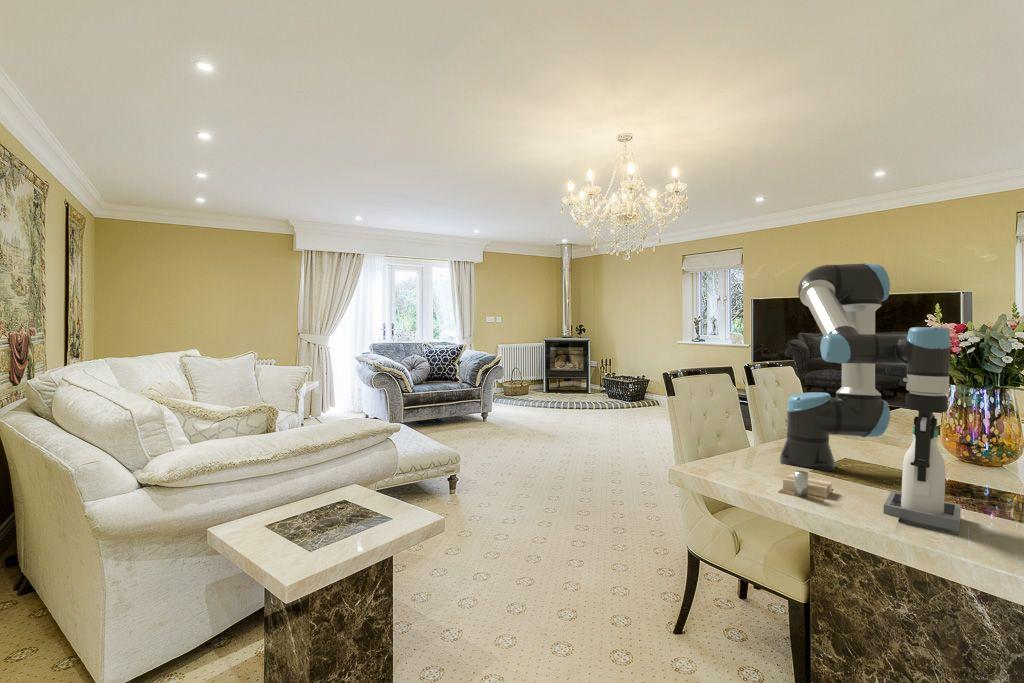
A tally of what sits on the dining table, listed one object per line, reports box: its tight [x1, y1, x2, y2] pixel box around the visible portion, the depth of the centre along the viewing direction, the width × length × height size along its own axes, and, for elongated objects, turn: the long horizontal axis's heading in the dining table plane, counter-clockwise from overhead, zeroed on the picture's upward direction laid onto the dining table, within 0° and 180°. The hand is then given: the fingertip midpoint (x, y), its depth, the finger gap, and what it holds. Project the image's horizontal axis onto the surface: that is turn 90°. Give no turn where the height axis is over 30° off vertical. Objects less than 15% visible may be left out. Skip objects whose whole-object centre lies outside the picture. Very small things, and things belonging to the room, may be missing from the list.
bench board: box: [777, 487, 835, 503], centre depth 129 cm, size 14×10×1 cm
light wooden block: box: [782, 474, 833, 499], centre depth 129 cm, size 6×10×2 cm, turn 46°
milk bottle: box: [900, 426, 946, 516], centre depth 114 cm, size 8×8×20 cm
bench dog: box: [794, 470, 809, 499], centre depth 125 cm, size 3×3×6 cm
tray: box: [882, 491, 962, 536], centre depth 114 cm, size 13×13×3 cm
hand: (922, 490), depth 114 cm, fingers open, 8 cm apart
